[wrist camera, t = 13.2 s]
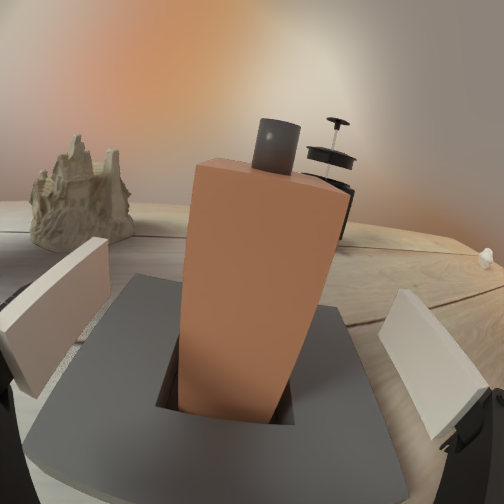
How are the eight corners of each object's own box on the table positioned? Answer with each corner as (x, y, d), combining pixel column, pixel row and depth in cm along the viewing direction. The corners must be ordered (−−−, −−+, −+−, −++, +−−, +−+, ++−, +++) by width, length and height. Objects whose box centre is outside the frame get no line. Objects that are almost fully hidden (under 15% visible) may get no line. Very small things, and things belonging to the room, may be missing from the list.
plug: (178, 424, 13) (207, 102, 7) (191, 368, 18) (224, 118, 12) (262, 435, 14) (364, 137, 8) (261, 378, 18) (325, 138, 12)
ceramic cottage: (148, 235, 38) (151, 131, 33) (46, 267, 25) (36, 136, 20) (102, 215, 46) (102, 135, 40) (24, 235, 33) (19, 143, 27)
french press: (273, 231, 52) (299, 110, 43) (310, 232, 56) (335, 124, 48) (312, 258, 42) (347, 113, 34) (350, 256, 47) (383, 130, 39)
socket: (44, 472, 7) (19, 449, 6) (136, 301, 23) (136, 273, 22) (379, 514, 8) (410, 497, 7) (326, 333, 25) (336, 307, 24)
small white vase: (478, 263, 69) (484, 244, 67) (490, 271, 64) (498, 252, 62) (473, 263, 67) (480, 244, 64) (487, 272, 62) (494, 252, 59)
